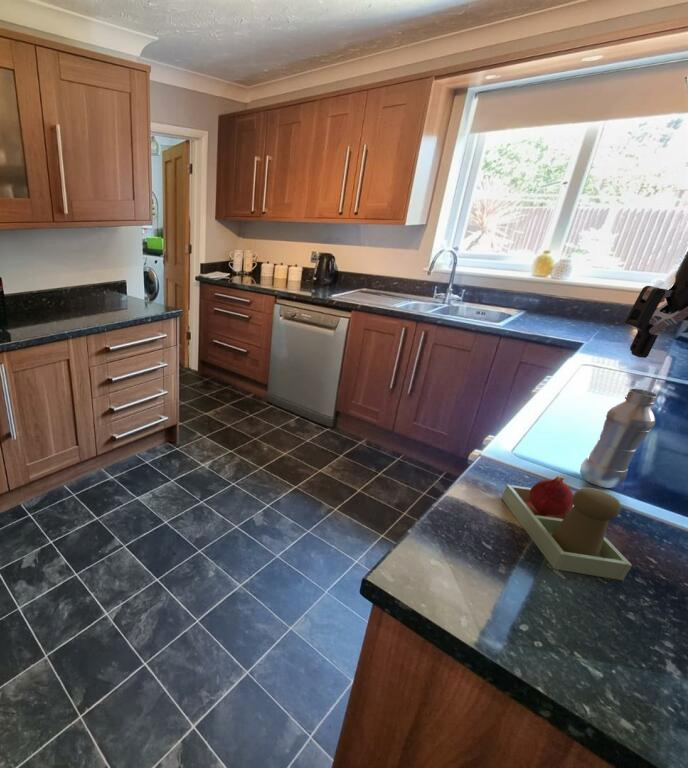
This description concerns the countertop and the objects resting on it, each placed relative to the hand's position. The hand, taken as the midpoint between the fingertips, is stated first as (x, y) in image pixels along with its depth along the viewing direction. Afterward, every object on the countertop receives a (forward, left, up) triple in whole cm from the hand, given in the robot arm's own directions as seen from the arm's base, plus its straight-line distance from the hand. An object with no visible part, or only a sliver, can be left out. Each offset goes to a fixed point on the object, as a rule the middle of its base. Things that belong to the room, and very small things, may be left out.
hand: (671, 358), depth 64 cm
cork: (+9, +11, -30) cm, 33 cm away
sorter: (+9, +7, -30) cm, 32 cm away
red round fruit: (+9, +3, -30) cm, 31 cm away
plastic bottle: (-8, -12, -30) cm, 34 cm away
